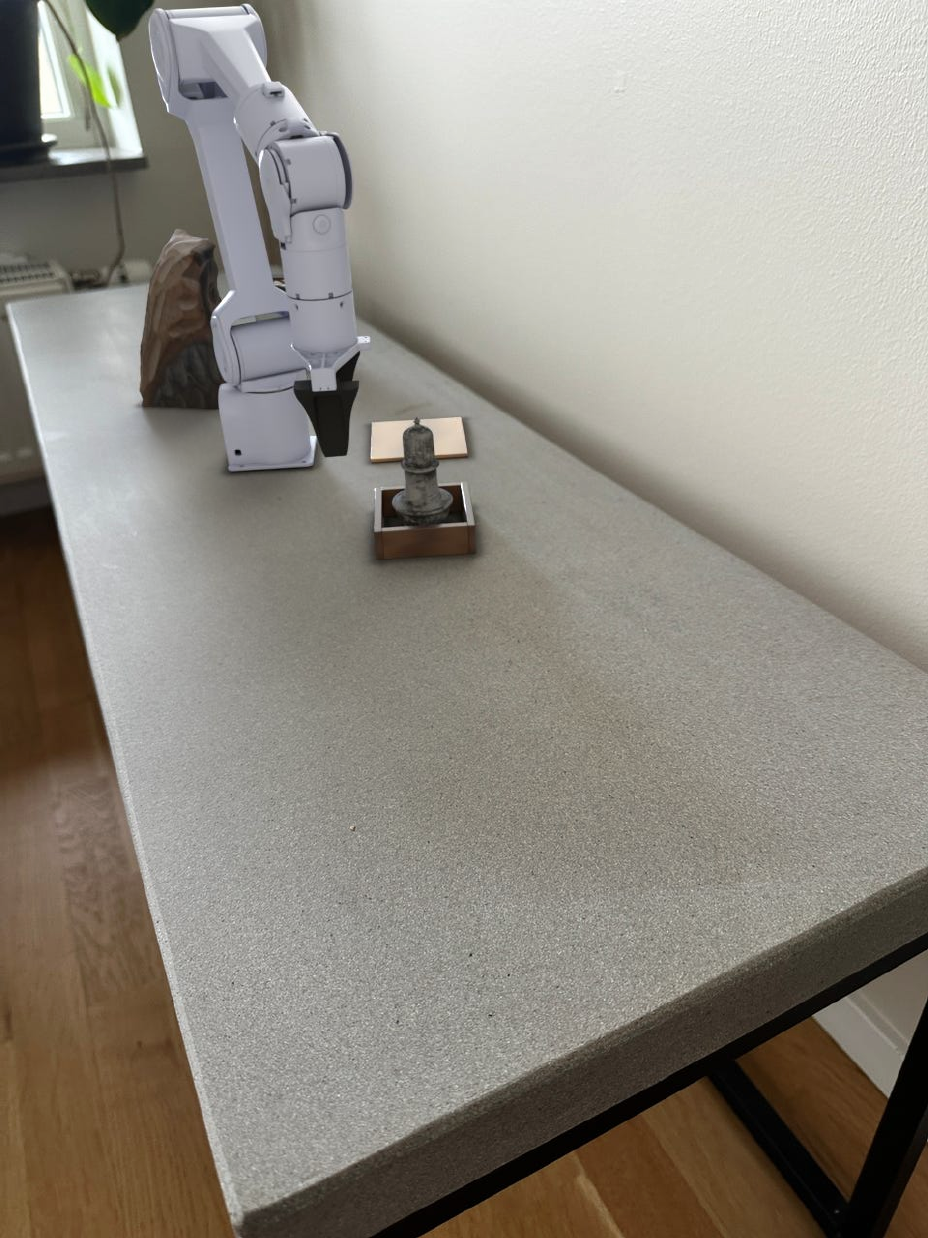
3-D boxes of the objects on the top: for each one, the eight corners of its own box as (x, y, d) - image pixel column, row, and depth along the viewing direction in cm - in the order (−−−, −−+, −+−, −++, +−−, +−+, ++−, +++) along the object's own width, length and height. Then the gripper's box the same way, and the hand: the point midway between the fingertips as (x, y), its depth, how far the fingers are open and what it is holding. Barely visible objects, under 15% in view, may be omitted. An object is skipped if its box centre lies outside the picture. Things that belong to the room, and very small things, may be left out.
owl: (197, 374, 136) (168, 224, 125) (271, 384, 131) (248, 230, 120) (137, 405, 127) (100, 246, 116) (215, 417, 122) (183, 253, 111)
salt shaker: (447, 549, 92) (440, 430, 85) (388, 545, 93) (377, 428, 86) (460, 520, 96) (454, 406, 90) (403, 517, 97) (393, 404, 91)
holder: (376, 560, 90) (373, 531, 89) (377, 514, 98) (374, 487, 97) (476, 553, 91) (475, 525, 89) (468, 508, 99) (467, 481, 97)
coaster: (371, 462, 109) (370, 459, 109) (372, 425, 118) (371, 422, 118) (467, 456, 109) (467, 453, 109) (461, 419, 118) (461, 416, 118)
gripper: (365, 312, 77) (379, 467, 85) (366, 268, 89) (379, 407, 97) (277, 317, 77) (299, 473, 85) (290, 272, 89) (308, 412, 97)
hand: (337, 438), depth 91 cm, fingers open, 7 cm apart
